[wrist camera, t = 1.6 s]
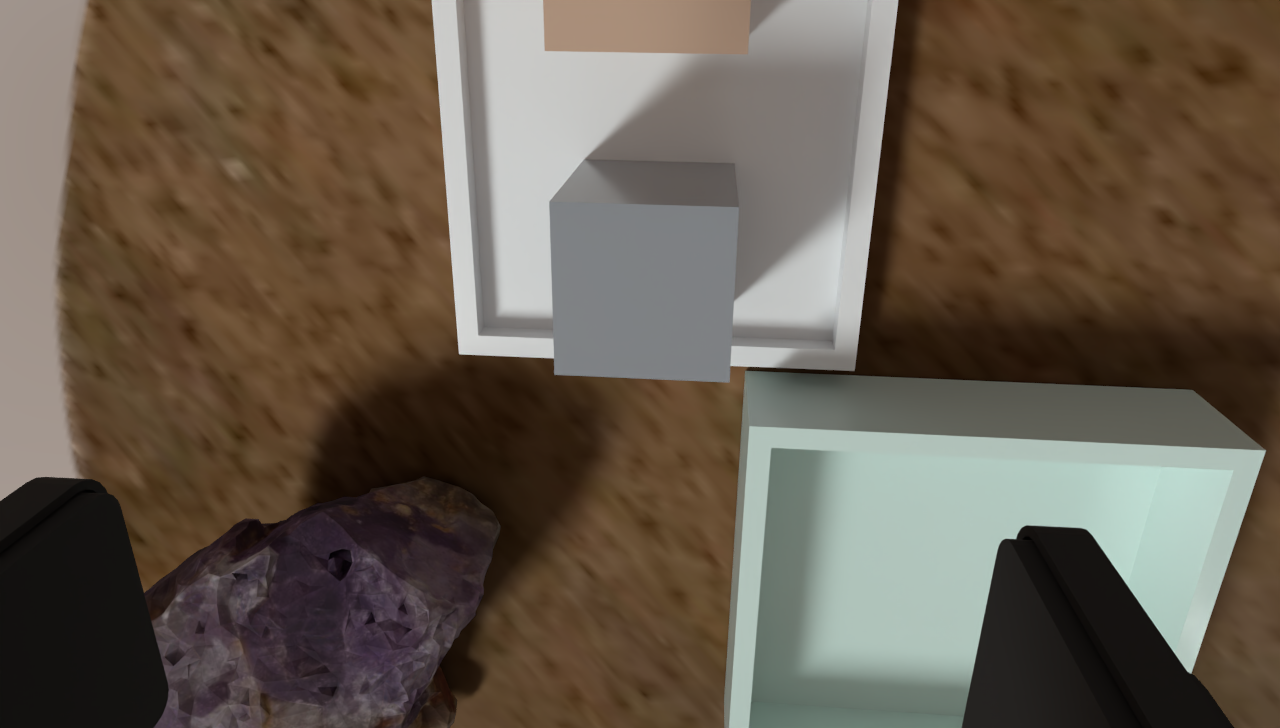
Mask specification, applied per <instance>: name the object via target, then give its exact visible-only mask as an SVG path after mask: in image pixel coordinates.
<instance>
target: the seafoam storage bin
mask: <svg viewBox="0 0 1280 728" xmlns="http://www.w3.org/2000/svg"><path fill="white" fill-rule="evenodd" d="M1265 452H1266V450H1265V449H1263V448H1262V447H1261V446H1260V445H1259V444H1257V443H1256V442H1255V441H1254V440H1253V439H1251V438H1250V437H1249V436H1248V435H1246V434H1245V433H1244V432H1243V431H1242V430H1240V429H1239V428H1238V427H1237V426H1236V425H1234V424H1233V423H1232V422H1231V421H1230V420H1228V419H1227V418H1226V417H1225V416H1224V415H1222V414H1221V413H1220V412H1219V411H1217V410H1216V409H1215V408H1214V407H1213V406H1211V405H1210V404H1209V403H1208V402H1207V401H1205V400H1204V399H1203V398H1202V397H1201V396H1199V395H1198V394H1197V393H1196V392H1195V391H1193V390H1185V389H1161V388H1138V387H1114V386H1091V385H1067V384H1044V383H1020V382H997V381H973V380H950V379H926V378H903V377H880V376H856V375H833V374H809V373H786V372H762V371H745V383H744V399H743V415H742V430H741V446H740V462H739V477H738V493H737V509H736V524H735V540H734V555H733V571H732V587H731V602H730V618H729V634H728V649H727V665H726V681H725V696H724V727H725V728H962V723H963V718H964V713H965V708H966V703H967V698H968V693H969V688H970V683H971V679H972V674H973V669H974V664H975V659H976V654H977V649H978V644H979V639H980V634H981V629H982V624H983V619H984V614H985V609H986V604H987V599H988V594H989V589H990V584H991V579H992V575H993V570H994V565H995V560H996V555H997V551H998V547H999V545H1000V543H1001V541H1002V540H1004V539H1016V537H1017V534H1018V533H1019V531H1020V529H1021V528H1022V527H1024V526H1026V525H1031V526H1051V527H1071V528H1083V529H1086V530H1088V531H1089V532H1090V534H1091V535H1092V536H1093V537H1094V538H1095V540H1096V541H1097V543H1098V544H1099V546H1100V547H1101V549H1102V550H1103V551H1104V553H1105V554H1106V556H1107V557H1108V559H1109V560H1110V561H1111V563H1112V564H1113V566H1114V567H1115V569H1116V570H1117V571H1118V573H1119V574H1120V576H1121V577H1122V579H1123V580H1124V581H1125V583H1126V584H1127V586H1128V587H1129V589H1130V590H1131V592H1132V593H1133V594H1134V596H1135V597H1136V599H1137V600H1138V602H1139V603H1140V604H1141V606H1142V607H1143V609H1144V610H1145V612H1146V613H1147V614H1148V616H1149V617H1150V619H1151V620H1152V622H1153V623H1154V625H1155V626H1156V627H1157V629H1158V630H1159V632H1160V633H1161V635H1162V636H1163V637H1164V639H1165V640H1166V642H1167V643H1168V645H1169V646H1170V647H1171V649H1172V650H1173V652H1174V653H1175V655H1176V656H1177V658H1178V659H1179V660H1180V662H1181V663H1182V665H1183V666H1184V668H1185V669H1186V670H1187V672H1189V673H1192V670H1193V667H1194V664H1195V661H1196V658H1197V655H1198V652H1199V649H1200V646H1201V643H1202V640H1203V637H1204V634H1205V631H1206V628H1207V625H1208V622H1209V619H1210V616H1211V613H1212V610H1213V607H1214V604H1215V601H1216V598H1217V595H1218V592H1219V589H1220V586H1221V583H1222V580H1223V577H1224V574H1225V571H1226V568H1227V565H1228V562H1229V559H1230V556H1231V553H1232V550H1233V547H1234V544H1235V541H1236V538H1237V535H1238V532H1239V529H1240V526H1241V523H1242V520H1243V517H1244V514H1245V512H1246V509H1247V506H1248V503H1249V500H1250V497H1251V494H1252V491H1253V488H1254V485H1255V482H1256V479H1257V476H1258V473H1259V470H1260V467H1261V464H1262V461H1263V458H1264V455H1265Z"/></svg>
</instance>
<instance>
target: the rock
mask: <svg viewBox="0 0 1280 728" xmlns="http://www.w3.org/2000/svg"><path fill="white" fill-rule="evenodd" d="M500 528H501V526H500V524H499V522H498V520H497V518H496V516H495V514H494V513H493V511H492V510H491V509H489V508H488V507H486V506H485V505H483V504H481V503H480V502H479V501H478V499H477V498H476V497H475V496H474V495H473V494H472V493H470V492H468V491H466V490H464V489H462V488H460V487H458V486H454V485H451V484H448V483H445V482H442V481H439V480H435V479H432V478H428V477H424V476H423V477H421V478H419V479H417V480H415V481H411V482H407V483H401V484H396V485H390V486H386V487H379V488H371V490H370V492H369V493H367V494H364V495H361V496H358V497H342V498H339V499H336V500H333V501H330V502H325V503H317V504H315V505H313V506H311V507H309V508H307V509H304V510H301V511H299V512H297V513H295V514H294V515H292V516H291V517H289V518H288V519H287V520H284V521H280V522H278V523H271V524H261V522H260V521H259V519H244V520H242V521H241V522H239V523H237V524H235V525H234V526H233V527H232V528H231V529H230V530H229V531H227V532H226V533H225V534H224V535H222V536H221V537H220V538H219V539H217V540H216V541H215V542H213V543H212V544H211V545H210V546H207V547H205V548H203V549H201V550H199V551H197V552H196V553H194V554H193V555H192V556H190V557H189V558H188V559H186V560H185V561H184V562H183V563H182V564H181V565H179V566H178V567H177V568H176V569H175V570H173V571H172V572H170V573H169V574H168V575H166V576H165V577H163V578H162V579H160V580H159V581H158V582H157V583H156V584H154V585H153V586H152V587H151V588H150V589H149V590H147V591H146V592H145V593H144V596H145V599H146V603H147V607H148V611H149V614H150V618H151V622H152V625H153V629H154V633H155V637H156V640H157V644H158V648H159V651H160V655H161V659H162V663H163V666H164V670H165V674H166V677H167V681H168V688H169V692H168V700H167V704H166V707H165V710H164V712H163V715H162V716H161V718H160V720H159V721H158V723H157V724H156V725H155V727H154V728H450V726H451V725H452V724H453V723H454V719H455V715H456V707H457V699H456V698H455V696H454V695H453V693H452V692H451V690H450V689H449V687H448V684H447V682H446V679H445V676H444V674H443V671H442V669H441V667H440V666H439V665H440V663H441V661H442V660H443V658H444V656H445V655H446V653H447V652H448V650H449V649H450V647H451V645H452V643H453V641H454V639H456V638H457V637H459V634H460V632H461V630H462V629H463V628H464V627H465V626H466V625H467V624H468V623H469V622H470V621H471V620H472V619H473V618H474V617H475V615H476V612H475V611H476V609H477V607H478V605H479V603H480V601H481V599H482V597H483V594H484V588H483V583H484V578H485V575H486V572H487V569H488V567H489V564H490V562H491V560H492V555H493V548H494V546H495V544H496V542H497V539H498V537H499V534H500Z"/></svg>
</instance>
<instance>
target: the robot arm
mask: <svg viewBox="0 0 1280 728" xmlns="http://www.w3.org/2000/svg"><path fill="white" fill-rule="evenodd" d="M168 692H169V688H168V681H167V677H166V674H165V670H164V666H163V663H162V659H161V655H160V651H159V648H158V644H157V640H156V637H155V633H154V629H153V625H152V622H151V618H150V614H149V611H148V607H147V603H146V599H145V596H144V592H143V588H142V584H141V581H140V577H139V573H138V570H137V566H136V562H135V558H134V555H133V551H132V547H131V544H130V540H129V536H128V532H127V529H126V525H125V521H124V518H123V514H122V510H121V507H120V504H119V502H118V500H117V499H116V498H115V497H114V496H113V495H110V494H108V493H107V491H106V489H105V488H104V487H103V486H102V484H101V483H100V482H97V481H95V480H92V479H74V478H53V477H41V478H35V479H33V480H31V481H29V482H27V483H25V484H24V485H23V486H22V487H20V488H18V489H17V490H16V491H14V492H13V493H11V494H10V495H8V496H7V497H6V498H4V499H3V500H2V501H0V728H154V727H155V725H156V724H157V723H158V721H159V720H160V718H161V716H162V715H163V712H164V710H165V707H166V704H167V700H168ZM962 728H1234V727H1233V726H1232V724H1231V723H1230V721H1229V720H1228V719H1227V717H1226V716H1225V714H1224V713H1223V711H1222V710H1221V709H1220V707H1219V706H1218V704H1217V703H1216V702H1215V700H1214V699H1213V697H1212V696H1211V695H1210V693H1209V692H1208V690H1207V689H1206V688H1205V687H1204V685H1203V684H1202V683H1201V682H1200V681H1199V680H1198V679H1197V678H1196V677H1195V676H1194V675H1193V674H1191V673H1189V672H1187V670H1186V669H1185V668H1184V666H1183V665H1182V663H1181V662H1180V660H1179V659H1178V658H1177V656H1176V655H1175V653H1174V652H1173V650H1172V649H1171V647H1170V646H1169V645H1168V643H1167V642H1166V640H1165V639H1164V637H1163V636H1162V635H1161V633H1160V632H1159V630H1158V629H1157V627H1156V626H1155V625H1154V623H1153V622H1152V620H1151V619H1150V617H1149V616H1148V614H1147V613H1146V612H1145V610H1144V609H1143V607H1142V606H1141V604H1140V603H1139V602H1138V600H1137V599H1136V597H1135V596H1134V594H1133V593H1132V592H1131V590H1130V589H1129V587H1128V586H1127V584H1126V583H1125V581H1124V580H1123V579H1122V577H1121V576H1120V574H1119V573H1118V571H1117V570H1116V569H1115V567H1114V566H1113V564H1112V563H1111V561H1110V560H1109V559H1108V557H1107V556H1106V554H1105V553H1104V551H1103V550H1102V549H1101V547H1100V546H1099V544H1098V543H1097V541H1096V540H1095V538H1094V537H1093V536H1092V535H1091V534H1090V532H1089V531H1088V530H1086V529H1083V528H1071V527H1051V526H1031V525H1026V526H1024V527H1022V528H1021V529H1020V531H1019V533H1018V534H1017V537H1016V539H1004V540H1002V541H1001V543H1000V545H999V547H998V551H997V555H996V560H995V565H994V570H993V575H992V579H991V584H990V589H989V594H988V599H987V604H986V609H985V614H984V619H983V624H982V629H981V634H980V639H979V644H978V649H977V654H976V659H975V664H974V669H973V674H972V679H971V683H970V688H969V693H968V698H967V703H966V708H965V713H964V718H963V723H962Z"/></svg>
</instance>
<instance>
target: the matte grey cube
mask: <svg viewBox="0 0 1280 728" xmlns="http://www.w3.org/2000/svg"><path fill="white" fill-rule="evenodd" d="M549 211H550V243H551V276H552V309H553V342H554V375H571V376H594V377H617V378H640V379H663V380H686V381H709V382H729V381H730V363H731V345H732V327H733V310H734V292H735V274H736V256H737V239H738V221H739V200H738V190H737V180H736V171H735V163H710V162H671V161H632V160H593V159H584V160H583V161H582V162H581V164H580V165H579V166H578V167H577V168H576V170H575V171H574V172H573V173H572V175H571V176H570V177H569V178H568V179H567V181H566V182H565V183H564V184H563V186H562V187H561V188H560V189H559V190H558V192H557V193H556V194H555V195H554V196H553V198H552V199H551V200H550V201H549Z"/></svg>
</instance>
